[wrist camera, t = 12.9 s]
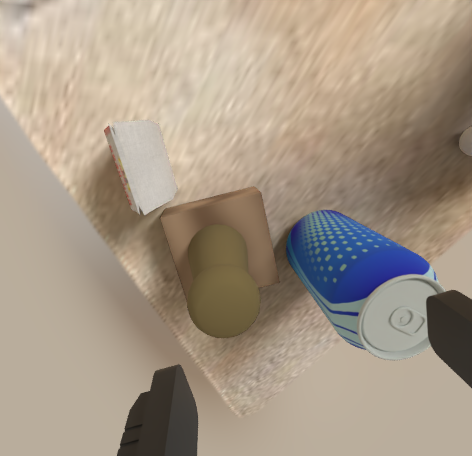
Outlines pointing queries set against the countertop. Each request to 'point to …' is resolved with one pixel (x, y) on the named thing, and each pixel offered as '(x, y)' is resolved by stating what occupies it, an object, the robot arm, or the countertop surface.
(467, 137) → the donut
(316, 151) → the countertop surface
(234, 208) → the walnut base
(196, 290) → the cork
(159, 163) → the white tall box
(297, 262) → the beer can
